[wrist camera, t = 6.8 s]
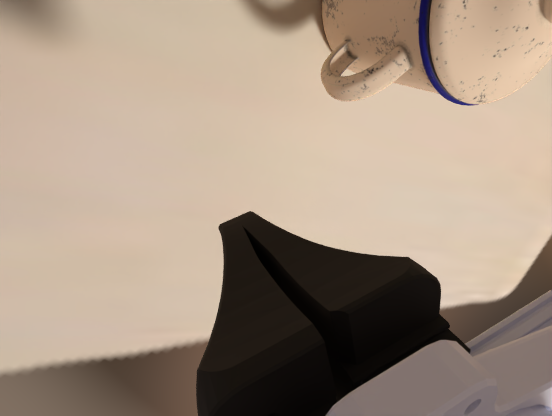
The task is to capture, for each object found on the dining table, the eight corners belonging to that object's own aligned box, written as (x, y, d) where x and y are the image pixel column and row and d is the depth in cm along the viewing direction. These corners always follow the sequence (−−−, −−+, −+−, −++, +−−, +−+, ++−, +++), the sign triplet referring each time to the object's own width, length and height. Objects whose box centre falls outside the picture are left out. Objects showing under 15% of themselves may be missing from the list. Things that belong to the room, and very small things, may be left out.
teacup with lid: (415, -133, 19) (720, -272, 10) (448, 24, 24) (661, 32, 15) (247, 5, 19) (392, 0, 9) (318, 132, 24) (454, 208, 15)
